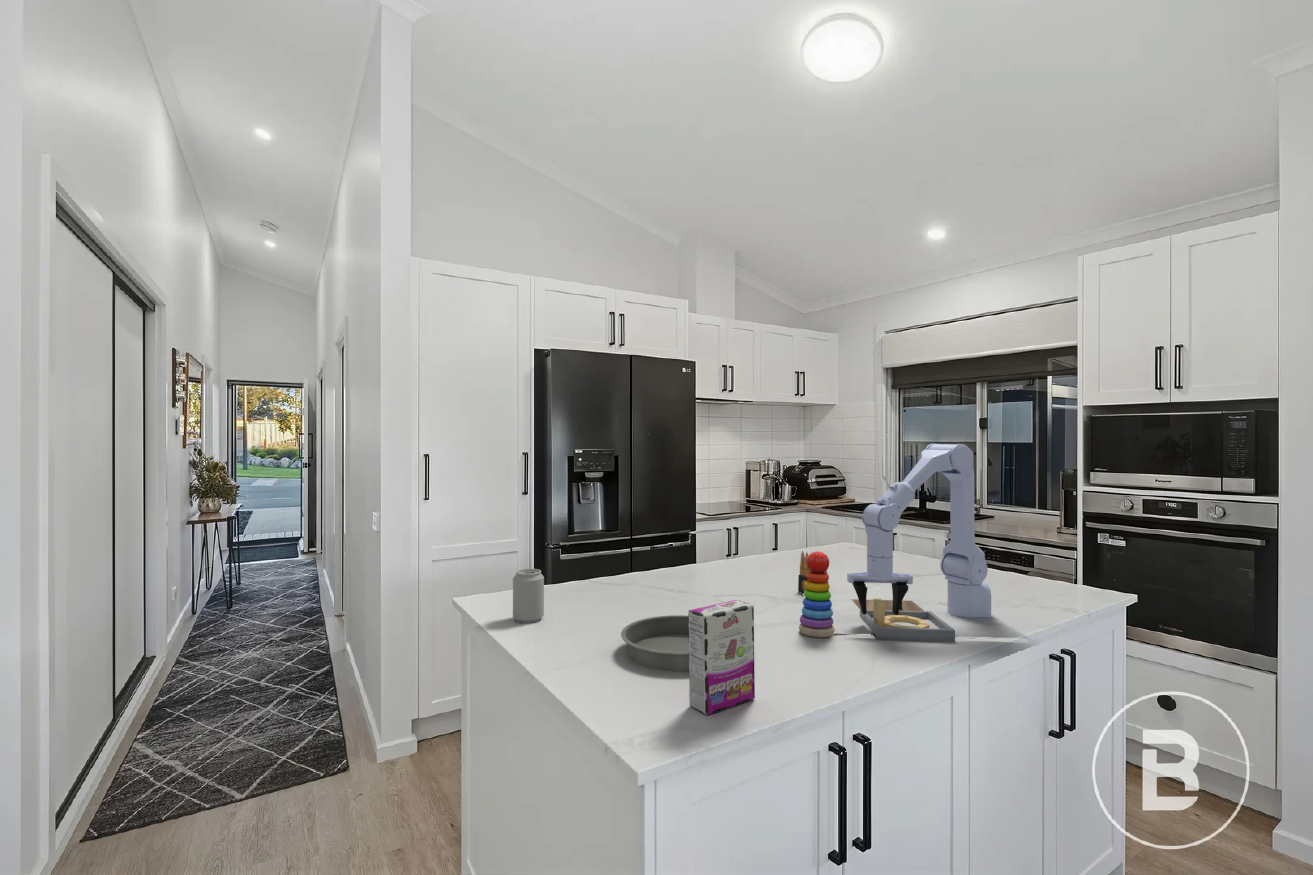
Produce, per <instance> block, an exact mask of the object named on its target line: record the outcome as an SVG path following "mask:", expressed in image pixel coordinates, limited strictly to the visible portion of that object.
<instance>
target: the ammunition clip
mask: <svg viewBox="0 0 1313 875" xmlns="http://www.w3.org/2000/svg"><path fill="white" fill-rule="evenodd" d="M805 552H806V553H805ZM805 552H804V551H803V550H802V551H801V553H800V562H799V574H798V578H797V580H798V582H797V588H798V589H797V592H798V591H799V592H801V593H800V594H802V593H804V591H805V590H806V588H805V583H806V582H807V581H809V580H808V579H807V573H809V572H811V570H810V569H809V568H808V566H807V558H808V556H809V553H808V551H805ZM825 573H827V574H828V569H827V570H826V571H825ZM827 583H828V584H829V580H828V581H827ZM828 591H829V592H830V590H828ZM799 592H798V593H799Z"/></svg>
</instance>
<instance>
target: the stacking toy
mask: <svg viewBox="0 0 1313 875" xmlns="http://www.w3.org/2000/svg"><path fill="white" fill-rule="evenodd" d="M807 566H808V568H809V569H810V570H811V572H809V573H807V579H808V580H809V581H807V582H806V583H805V588H806V590H805V591H804V590H803V592H804V594H803V596H804V598H803V600H802V605H803V607H802V608H801V613H802V614H801V615H800V616H799V622H800V624H799V625H798V630H799V632H800V633H801V634H802V635H804V636H808V637H812V638H828V637H831V636H833V635H834V634H835V631H836V630H835V627H834V619H833V617H832V616H833V614H834V611H833V609H832V606H833V602H832V601H831V597H832V594H831V592H830V590H829V589H830V584H829V580H830V576H829V574H828V572H827V573H825V571H826V570H827V571H828V570H829V566H830V558H829V557H828V556H827V554H826V553H824V552H823V551H813V552H811V553H809V554H808V558H807ZM827 581H828V583H827ZM828 590H829V591H828Z"/></svg>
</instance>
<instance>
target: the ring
mask: <svg viewBox="0 0 1313 875" xmlns="http://www.w3.org/2000/svg"><path fill="white" fill-rule="evenodd" d="M873 600H874V604H873V617H872V619H873V620H874V621H875V622H876V623H877V625H878V626H879V627H894V628H930V626H931V625H930V624H929V623H928V622H927V621H926V620H925V619H919V618H915V617H911V616H907V615H888V616H885V602H884V601H883V600H884V599H882V598H881V597H880V598H879V597H878V598H876V597H875V598H874V597H873ZM893 622H899V623H901V622H903V623H909V624H913V625H901V624H898V623H893ZM914 624H915V625H914Z"/></svg>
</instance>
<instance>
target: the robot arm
mask: <svg viewBox="0 0 1313 875" xmlns="http://www.w3.org/2000/svg"><path fill="white" fill-rule="evenodd" d="M920 454H921V455H920V459H919V461H918V462H917V463H916V464H915V465H914V466H913V468H912V469H911V470H910V471H909V473H908V474H907V475H906V477H905V478H904V479H903V480H902V481H901V482H900V481H896V482H893V483H891V484H890V485H889V487H888V490H886V492H885V493H883V495H882V496H880V497H879V498H878V499H877V501H876V502H875V503H872V504H871V503H870V504H869V505H868V506H866V507H865V508H864V510H863V514H862V515H861V516H860V517H861V518H860V519H861V521H862V524H863V525H864V527H865V528H864V530H865V531H864V532H865V534H866V572H863V571H862V572H847V573H846V574H847V576H846V577H847V578H846V579H847V582H848V583H849V584H852V587H853V589H854V590H855V593H856V596H857V600H859V603H860V607H861V612H862V614H866V612H867V608H866V600H867V595H868V587H867V586H866V584H867V583H870V584H871V583H872V584H873V583H874V584H891V589H892V590H891V592H892V600H893V605H892V611H893V614H895V615H898V613H899V609H900V605H901V602H902V601H904V600H903V599H904V597H905V596H906V595H907V593H908V591H909V585H914V580H913V579H914V577H913V575H912V574H910V573H908V574H907V573H895V572H893V571H894V561H893V560H894V554H893V553H894V550H893V549H894V530H895V528H898V525H899V522H900V518H901V516H902V513H903V512H904V510H906V509H907V507H908V506H910V505H911V503H912V502H913V501H914V500H915V496H916V495H915V491H916V490H917V489H919V487H921V486H922V485H923V484H924V483H925V482H926V481H927V480H929V478H931V477H932V476H933V475H934V474H935V473H937V472H938V473H941V474H942V475H943V476H945V477H946V478H947V479H948V480H949V483H950V484H949V486H950V487H949V490H950V491H949V495H950V498H949V502H950V504H949V505H950V508H949V509H950V514H949V515H950V516H949V517H950V542H949V543H948V544H947V545H945V546H944V547H943V548H942V557H941V559H940V564H939V567H940V571H941V573H942V575H943V576H945V577H944V579H945V580H947V606H946V607H947V608H946V609H947V610H946V611H947V613H948V614H950V615H951V616H955V617H961V618H973V619H974V618H992V593H991V592H992V591H991V588H990V585H989V584H988V583H987V582H984V581H985V580H986V578H987V576H988V573H989V572H988V570H989V568H988V565H987V562H986V556H985V554H986V553H985V552H984V551H983V550H982V549H981V548H980V547H979V546H978V545H977V544H976V543H975V538H976V537H975V471H974V451H973V450H972V449H970V448H969V446H967V445H966V444H964V443H957V444H954V443H953V444H952V443H950V444H949V443H948V444H947V443H944V444H943V443H935V442H934V443H930V444H928V445H927V446H926V447H925V449H924V450H922V451H921V452H920Z"/></svg>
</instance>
